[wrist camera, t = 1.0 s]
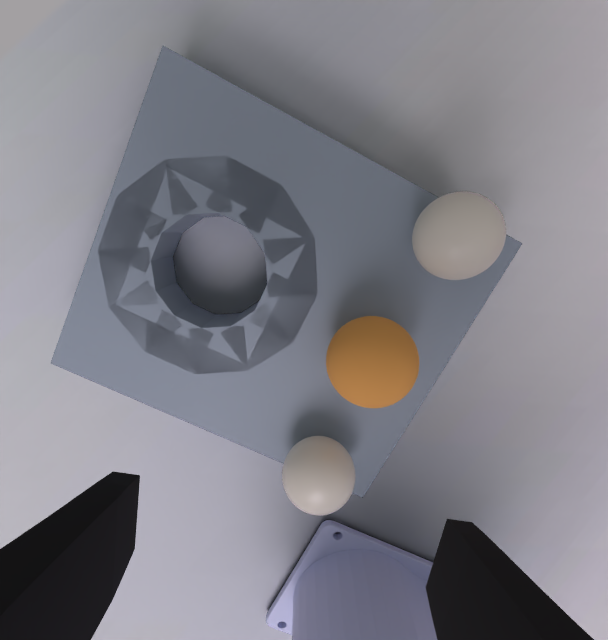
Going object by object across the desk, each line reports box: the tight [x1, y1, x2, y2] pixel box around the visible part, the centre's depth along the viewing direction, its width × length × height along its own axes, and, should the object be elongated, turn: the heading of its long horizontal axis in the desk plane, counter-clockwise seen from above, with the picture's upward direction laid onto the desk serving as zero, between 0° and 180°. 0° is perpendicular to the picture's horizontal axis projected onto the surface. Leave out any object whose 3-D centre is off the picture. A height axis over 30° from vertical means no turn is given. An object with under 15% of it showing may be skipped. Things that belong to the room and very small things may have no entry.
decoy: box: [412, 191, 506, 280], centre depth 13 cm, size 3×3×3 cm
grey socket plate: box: [51, 46, 522, 498], centre depth 16 cm, size 15×13×2 cm
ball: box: [326, 316, 419, 408], centre depth 13 cm, size 3×3×3 cm
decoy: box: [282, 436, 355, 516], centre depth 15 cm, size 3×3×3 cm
